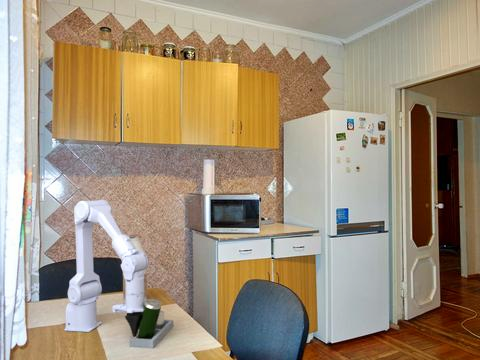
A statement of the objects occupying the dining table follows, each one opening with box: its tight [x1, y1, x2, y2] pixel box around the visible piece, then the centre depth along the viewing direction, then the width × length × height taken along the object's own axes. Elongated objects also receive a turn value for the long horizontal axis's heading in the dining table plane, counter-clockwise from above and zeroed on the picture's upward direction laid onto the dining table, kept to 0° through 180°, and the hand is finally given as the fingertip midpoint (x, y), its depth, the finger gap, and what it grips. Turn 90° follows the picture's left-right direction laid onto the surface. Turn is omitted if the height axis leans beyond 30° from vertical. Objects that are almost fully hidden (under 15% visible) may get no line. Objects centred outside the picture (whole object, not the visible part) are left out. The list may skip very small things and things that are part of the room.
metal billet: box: [156, 310, 165, 329], centre depth 122 cm, size 5×5×6 cm
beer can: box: [135, 298, 162, 339], centre depth 114 cm, size 5×5×12 cm
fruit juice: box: [122, 233, 148, 304], centre depth 152 cm, size 9×9×28 cm
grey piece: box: [129, 319, 174, 349], centre depth 118 cm, size 8×17×2 cm, turn 170°
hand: (135, 335), depth 115 cm, fingers closed, pressing on beer can
